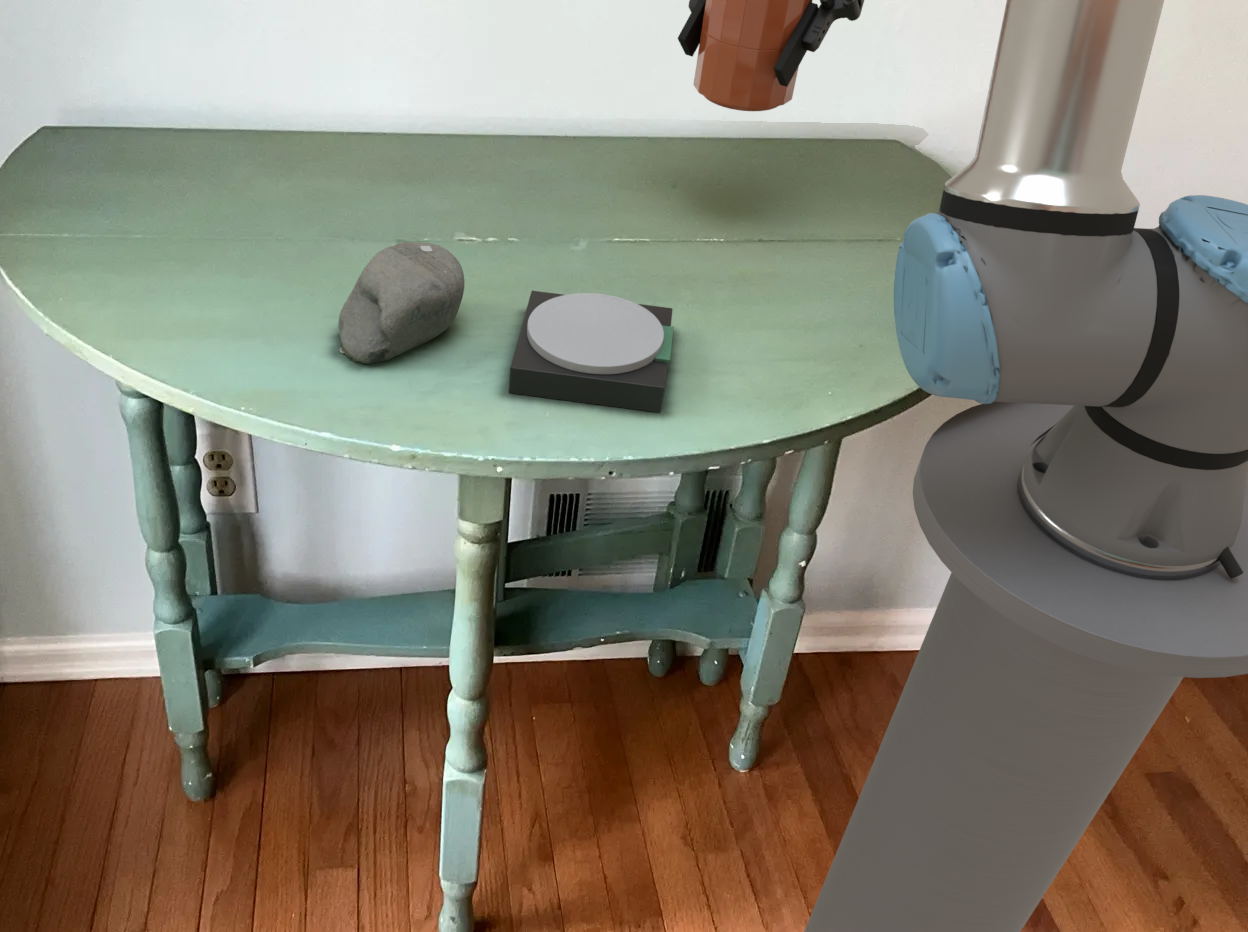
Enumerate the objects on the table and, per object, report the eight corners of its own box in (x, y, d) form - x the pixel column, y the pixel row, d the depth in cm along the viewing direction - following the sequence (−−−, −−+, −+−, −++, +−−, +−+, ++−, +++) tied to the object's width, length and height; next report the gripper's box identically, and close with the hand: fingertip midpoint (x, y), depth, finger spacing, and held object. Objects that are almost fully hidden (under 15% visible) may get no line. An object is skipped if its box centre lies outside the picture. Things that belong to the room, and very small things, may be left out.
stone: (311, 321, 99) (357, 212, 95) (395, 339, 105) (442, 237, 101) (361, 376, 94) (412, 262, 90) (447, 392, 100) (498, 286, 96)
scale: (671, 332, 101) (676, 299, 99) (663, 413, 93) (668, 379, 90) (529, 314, 102) (532, 281, 100) (508, 393, 93) (510, 358, 91)
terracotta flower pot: (811, 105, 111) (839, -20, 103) (735, 121, 107) (758, -8, 99) (748, 71, 116) (770, -50, 109) (673, 85, 112) (691, -39, 105)
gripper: (972, -108, 105) (847, 118, 106) (756, -156, 114) (643, 52, 115) (967, -169, 98) (834, 74, 99) (737, -215, 108) (618, 7, 108)
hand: (731, 62), depth 107 cm, fingers closed on terracotta flower pot, 9 cm apart
